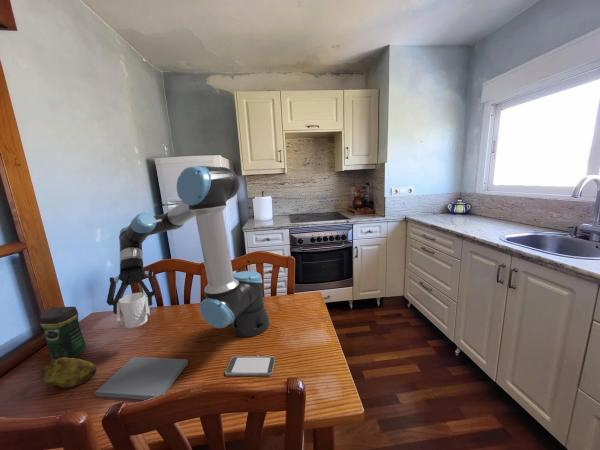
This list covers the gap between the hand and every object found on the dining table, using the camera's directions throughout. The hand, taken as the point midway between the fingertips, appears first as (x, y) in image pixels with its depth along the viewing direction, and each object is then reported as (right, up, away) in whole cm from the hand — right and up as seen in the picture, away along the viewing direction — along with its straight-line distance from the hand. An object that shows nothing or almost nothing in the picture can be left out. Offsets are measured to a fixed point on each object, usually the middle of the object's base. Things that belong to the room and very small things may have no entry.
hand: (134, 318), depth 84 cm
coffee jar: (-26, -15, +4) cm, 31 cm away
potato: (-14, -17, -9) cm, 23 cm away
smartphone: (+42, -14, -6) cm, 45 cm away
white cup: (-1, -3, +4) cm, 5 cm away
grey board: (+9, -16, -9) cm, 20 cm away
